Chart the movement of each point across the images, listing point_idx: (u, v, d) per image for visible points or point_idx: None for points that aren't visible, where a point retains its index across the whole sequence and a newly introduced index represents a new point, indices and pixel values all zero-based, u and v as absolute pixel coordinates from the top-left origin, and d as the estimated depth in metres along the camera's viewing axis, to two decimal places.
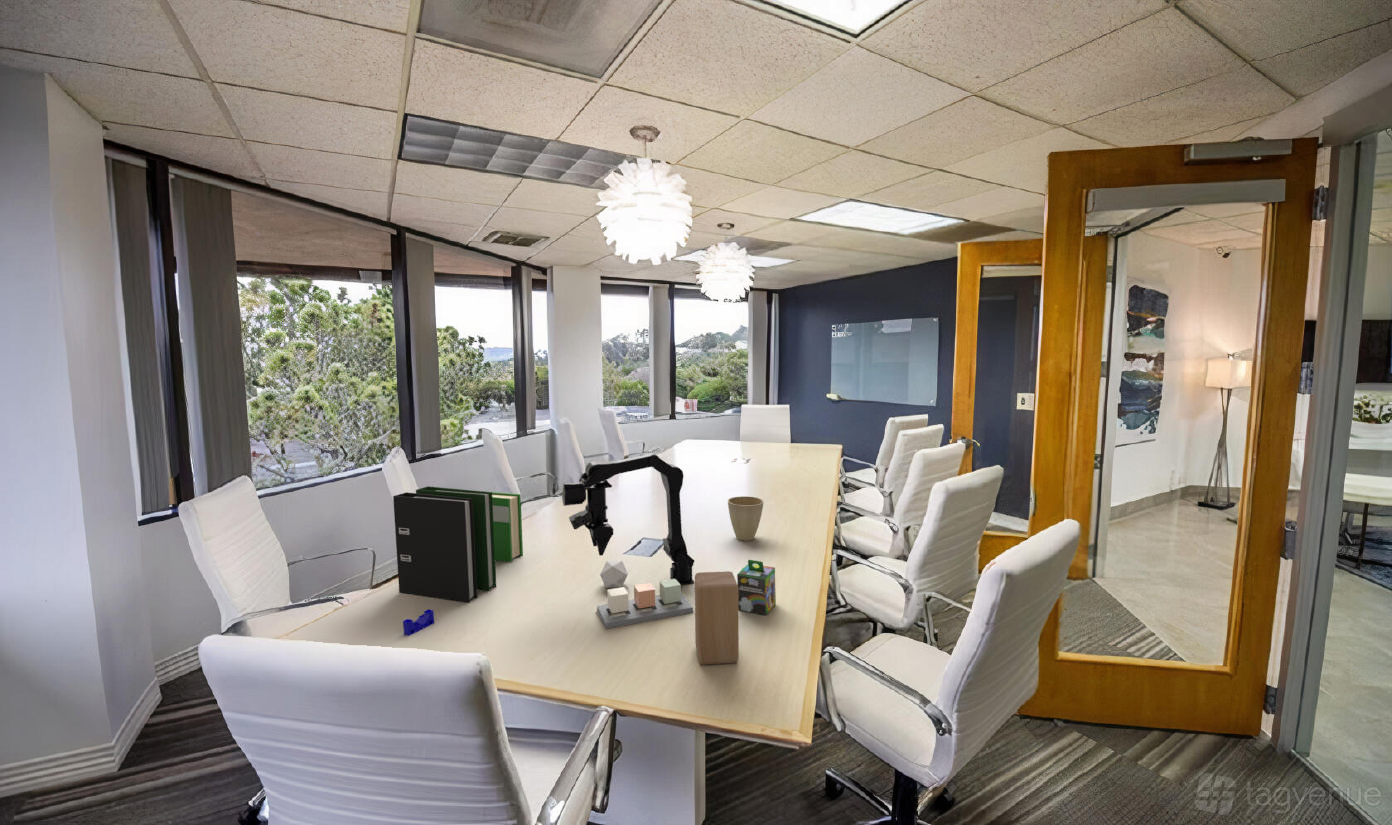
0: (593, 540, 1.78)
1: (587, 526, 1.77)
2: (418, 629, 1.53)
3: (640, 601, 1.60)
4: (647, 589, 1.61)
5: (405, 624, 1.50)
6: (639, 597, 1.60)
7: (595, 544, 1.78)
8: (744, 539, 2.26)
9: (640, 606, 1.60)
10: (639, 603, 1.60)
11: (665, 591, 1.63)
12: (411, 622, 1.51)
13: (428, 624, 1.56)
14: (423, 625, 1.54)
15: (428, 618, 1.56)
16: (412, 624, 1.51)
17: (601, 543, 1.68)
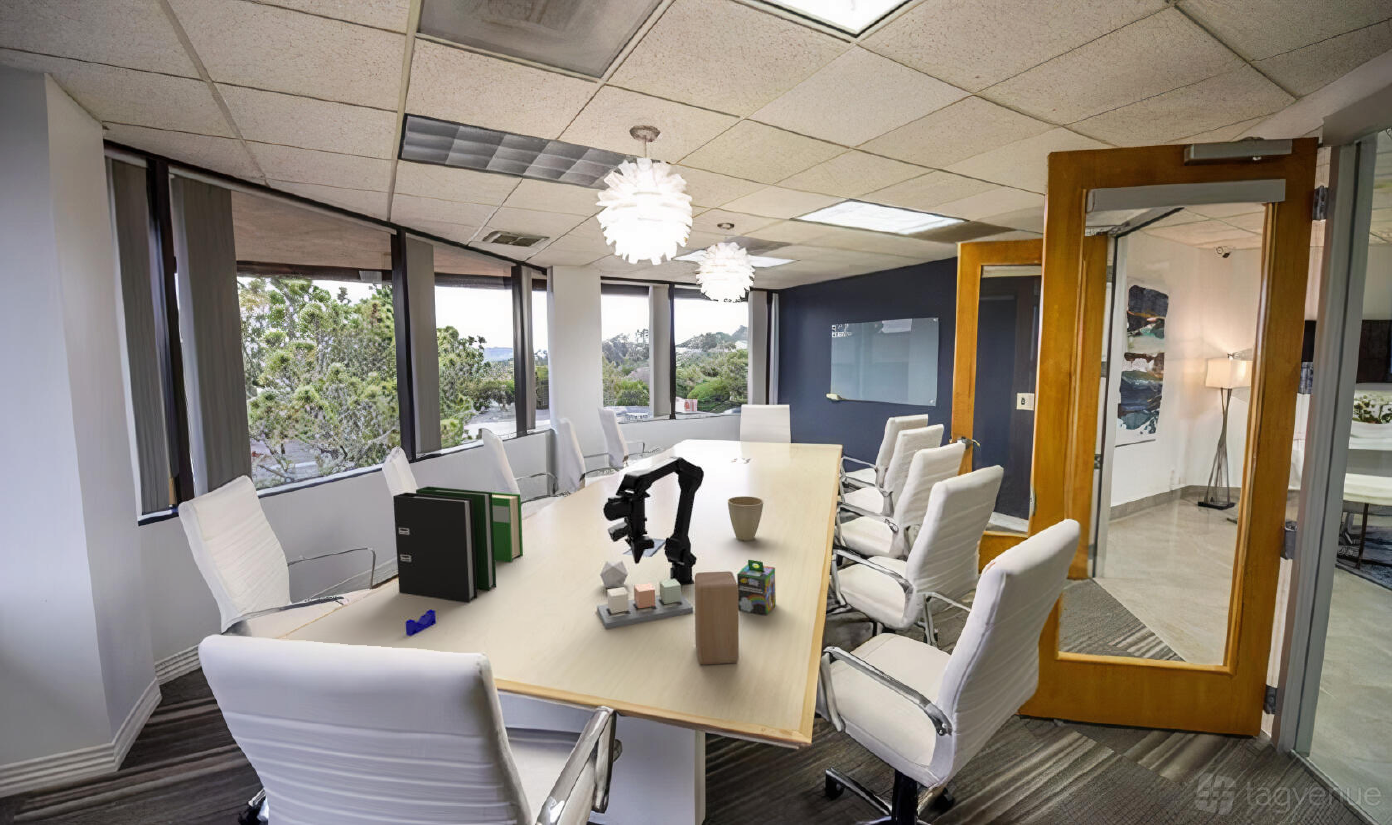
0: None
1: (628, 542, 1.69)
2: (420, 629, 1.53)
3: (640, 601, 1.60)
4: (647, 589, 1.61)
5: (408, 625, 1.50)
6: (639, 597, 1.60)
7: None
8: (744, 539, 2.26)
9: (640, 606, 1.60)
10: (639, 603, 1.60)
11: (665, 591, 1.63)
12: (414, 622, 1.51)
13: (430, 624, 1.56)
14: (425, 625, 1.54)
15: (430, 618, 1.55)
16: (415, 625, 1.51)
17: (637, 551, 1.68)
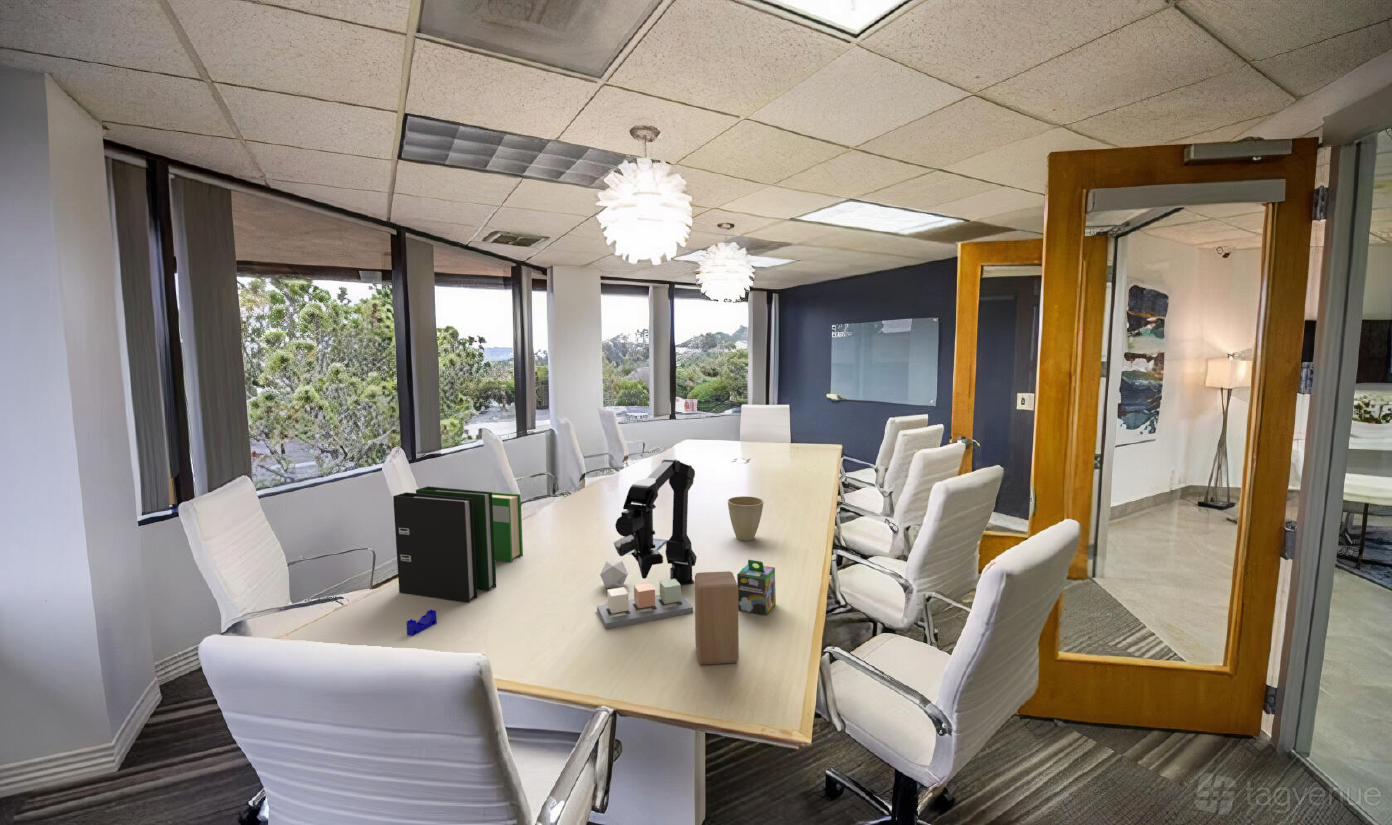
0: None
1: (635, 556, 1.62)
2: (421, 629, 1.53)
3: (640, 601, 1.60)
4: (647, 589, 1.61)
5: (409, 625, 1.50)
6: (639, 597, 1.60)
7: None
8: (744, 539, 2.26)
9: (640, 606, 1.60)
10: (639, 603, 1.60)
11: (665, 591, 1.63)
12: (415, 622, 1.51)
13: (431, 624, 1.55)
14: (426, 625, 1.54)
15: (431, 618, 1.55)
16: (416, 625, 1.51)
17: (645, 566, 1.61)
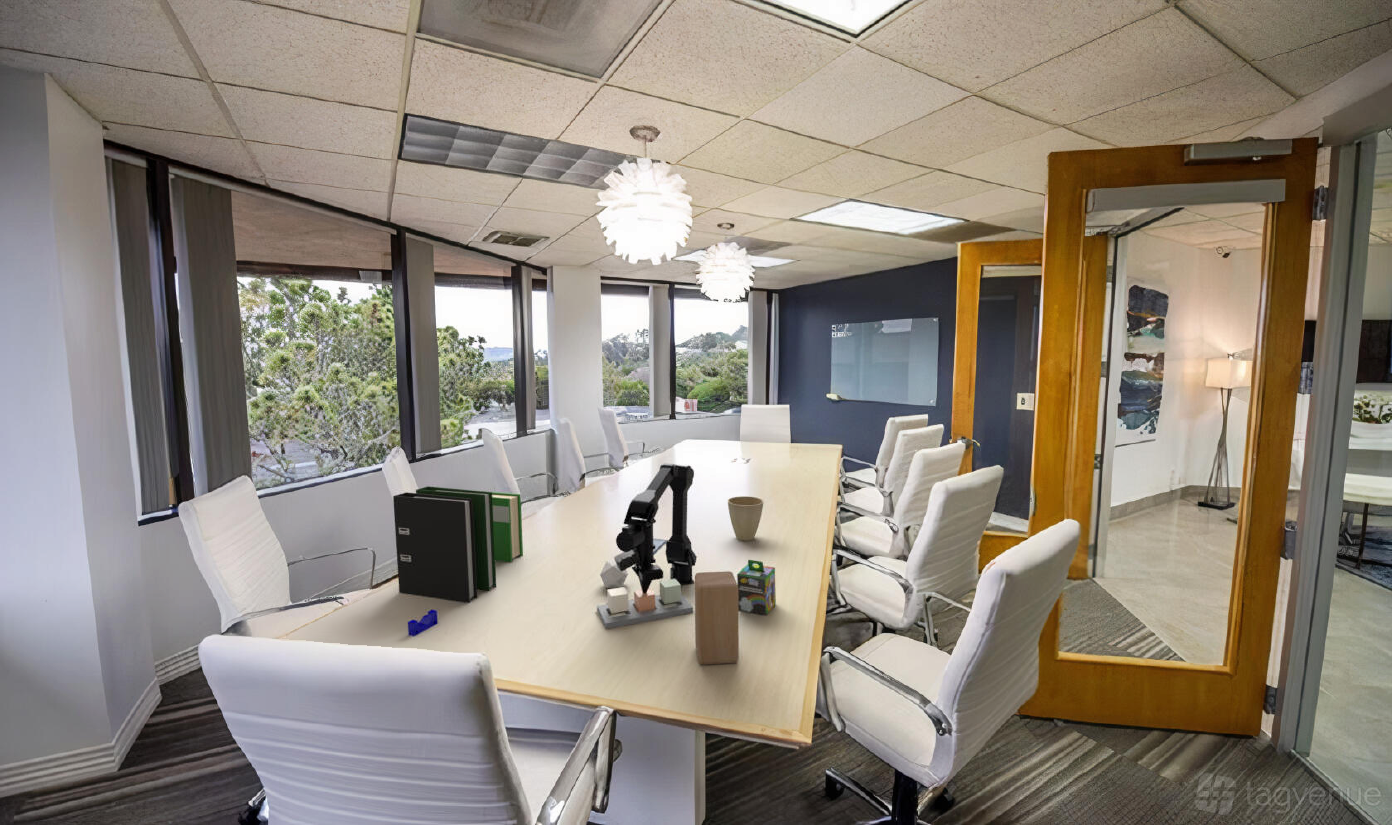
0: None
1: (636, 571, 1.62)
2: (423, 629, 1.53)
3: (640, 606, 1.60)
4: (647, 595, 1.61)
5: (410, 625, 1.50)
6: (639, 602, 1.60)
7: None
8: (744, 539, 2.26)
9: None
10: (639, 608, 1.60)
11: (665, 591, 1.63)
12: (416, 622, 1.50)
13: (432, 624, 1.55)
14: (427, 626, 1.54)
15: (432, 618, 1.55)
16: (417, 625, 1.51)
17: (645, 580, 1.61)
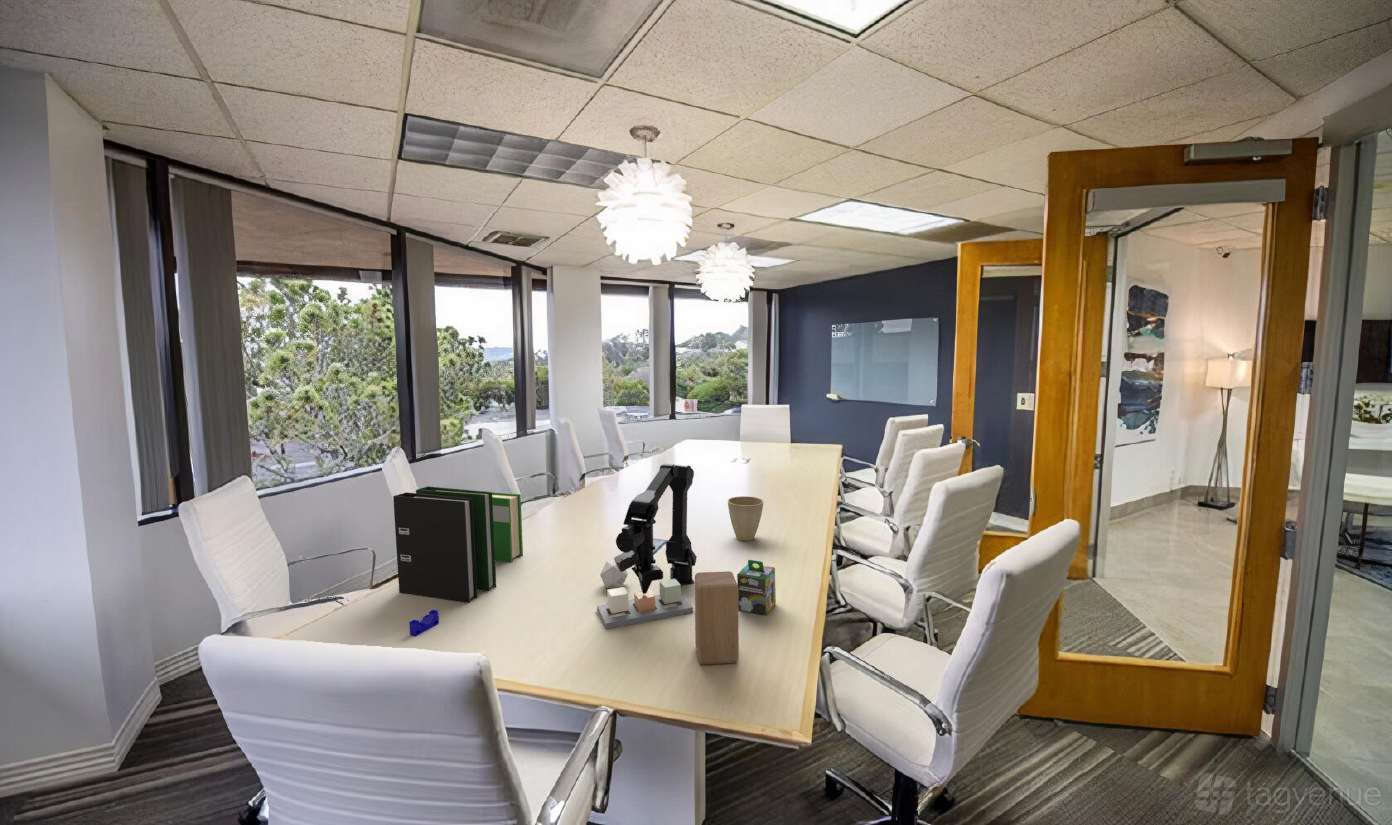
0: None
1: (636, 571, 1.62)
2: (424, 629, 1.52)
3: (640, 608, 1.60)
4: (647, 597, 1.61)
5: (412, 625, 1.50)
6: (639, 604, 1.60)
7: None
8: (744, 539, 2.26)
9: None
10: (639, 610, 1.60)
11: (665, 591, 1.63)
12: (417, 623, 1.50)
13: (433, 624, 1.55)
14: (429, 626, 1.54)
15: (433, 618, 1.55)
16: (418, 625, 1.51)
17: None
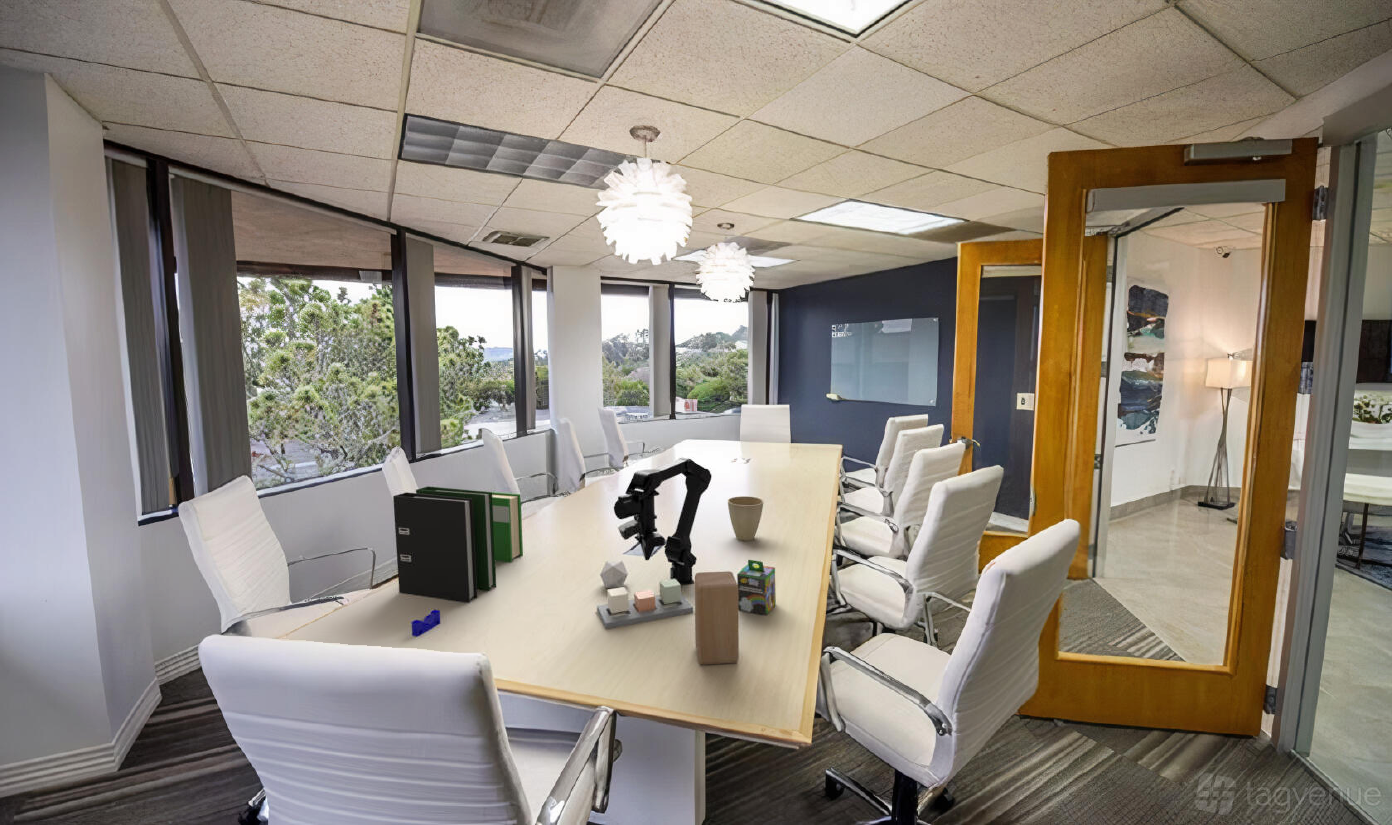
0: None
1: (638, 539, 1.72)
2: (426, 629, 1.52)
3: (640, 608, 1.60)
4: (647, 597, 1.61)
5: (414, 625, 1.50)
6: (639, 604, 1.60)
7: None
8: (744, 539, 2.26)
9: None
10: (639, 610, 1.60)
11: (665, 591, 1.63)
12: (420, 622, 1.50)
13: (435, 624, 1.55)
14: (431, 625, 1.54)
15: (435, 618, 1.55)
16: (421, 625, 1.51)
17: (648, 548, 1.71)
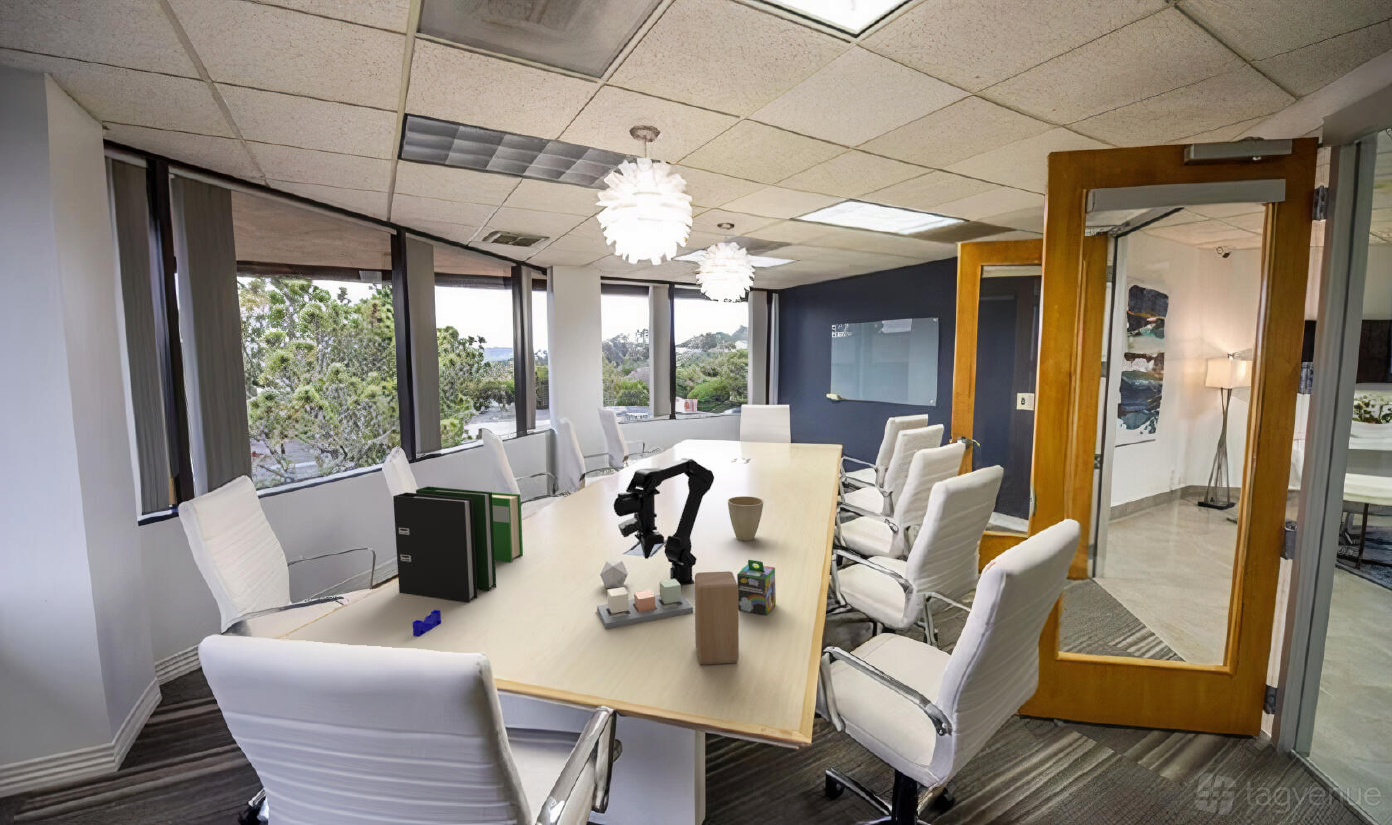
0: None
1: (638, 538, 1.73)
2: (427, 630, 1.52)
3: (640, 608, 1.60)
4: (647, 597, 1.61)
5: (415, 625, 1.50)
6: (639, 604, 1.60)
7: None
8: (744, 539, 2.26)
9: None
10: (639, 610, 1.60)
11: (665, 591, 1.63)
12: (421, 623, 1.50)
13: (436, 624, 1.55)
14: (432, 626, 1.54)
15: (436, 618, 1.55)
16: (422, 625, 1.51)
17: (647, 546, 1.72)
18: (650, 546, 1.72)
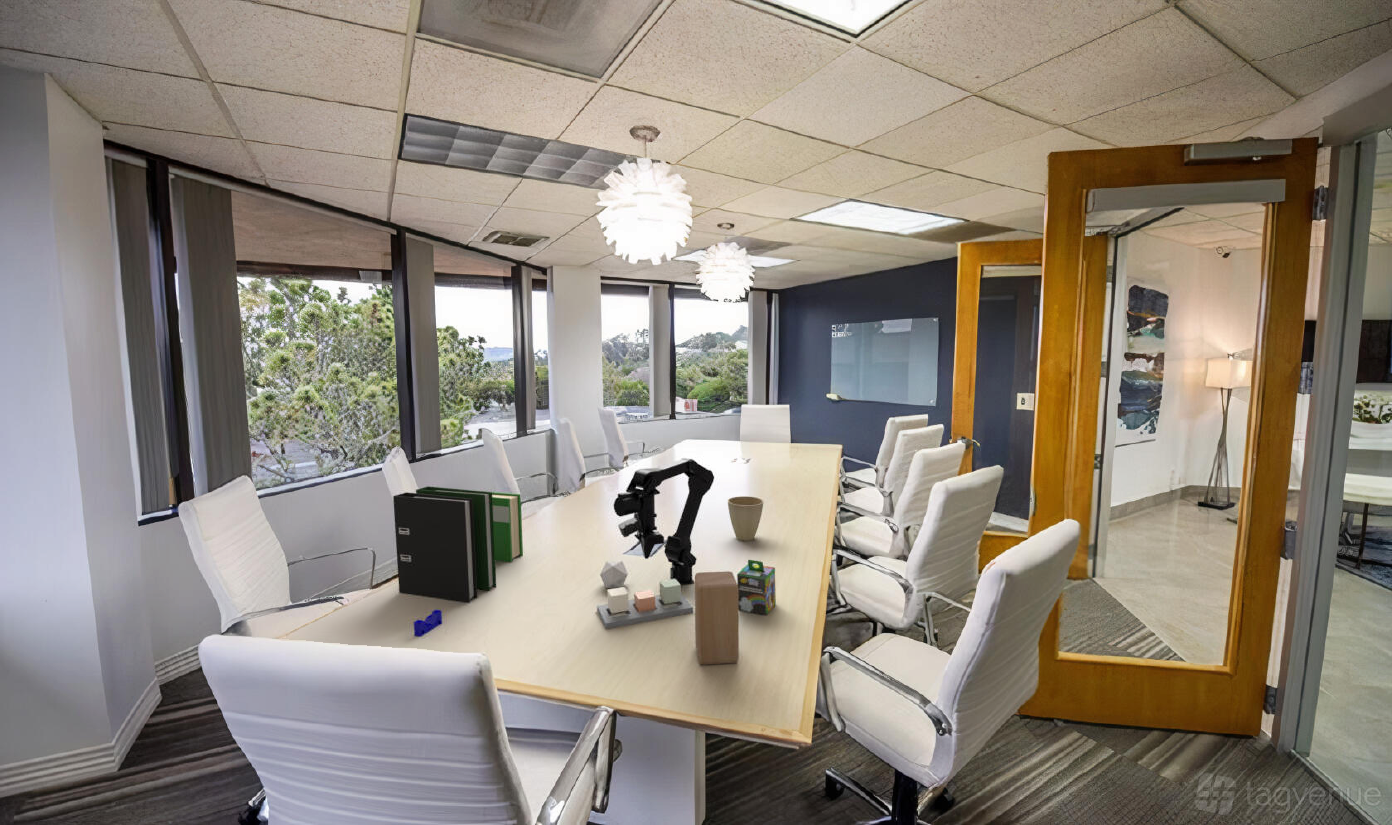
0: None
1: (638, 538, 1.73)
2: (428, 629, 1.52)
3: (640, 608, 1.60)
4: (647, 597, 1.61)
5: (416, 625, 1.50)
6: (639, 604, 1.60)
7: None
8: (744, 539, 2.26)
9: None
10: (639, 610, 1.60)
11: (665, 591, 1.63)
12: (422, 623, 1.50)
13: (437, 624, 1.55)
14: (433, 625, 1.54)
15: (437, 618, 1.55)
16: (423, 625, 1.51)
17: (647, 546, 1.72)
18: (650, 546, 1.72)
